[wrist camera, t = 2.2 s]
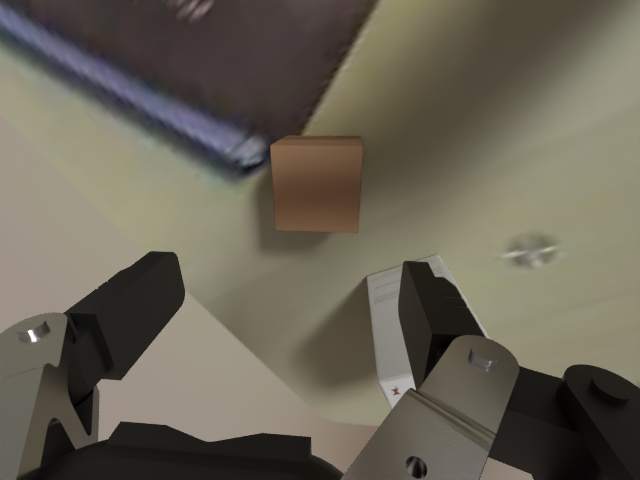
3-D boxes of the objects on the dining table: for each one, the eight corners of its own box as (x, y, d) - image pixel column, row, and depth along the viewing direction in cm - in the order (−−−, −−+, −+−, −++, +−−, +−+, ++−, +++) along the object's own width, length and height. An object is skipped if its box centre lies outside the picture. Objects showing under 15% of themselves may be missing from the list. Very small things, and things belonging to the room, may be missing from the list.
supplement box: (387, 330, 33) (408, 454, 21) (364, 274, 30) (374, 381, 19) (457, 312, 31) (521, 437, 19) (440, 251, 28) (502, 354, 17)
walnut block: (287, 135, 25) (270, 145, 20) (360, 136, 25) (363, 146, 19) (290, 204, 28) (275, 230, 22) (356, 206, 27) (358, 233, 22)
